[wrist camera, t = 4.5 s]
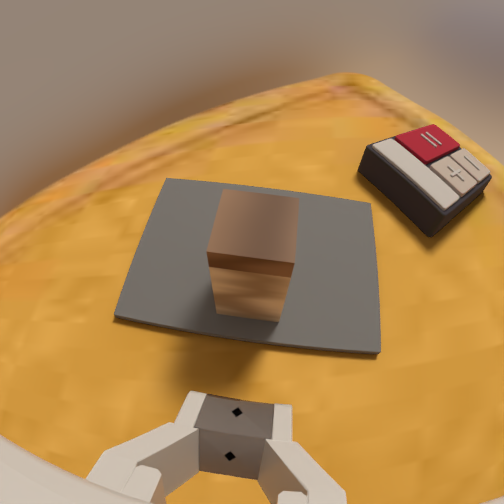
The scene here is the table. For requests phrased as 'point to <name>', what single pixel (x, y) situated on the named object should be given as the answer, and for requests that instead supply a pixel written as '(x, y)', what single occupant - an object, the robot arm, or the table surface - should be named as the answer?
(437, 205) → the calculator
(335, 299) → the mat
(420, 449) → the table surface
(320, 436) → the table surface
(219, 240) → the block
